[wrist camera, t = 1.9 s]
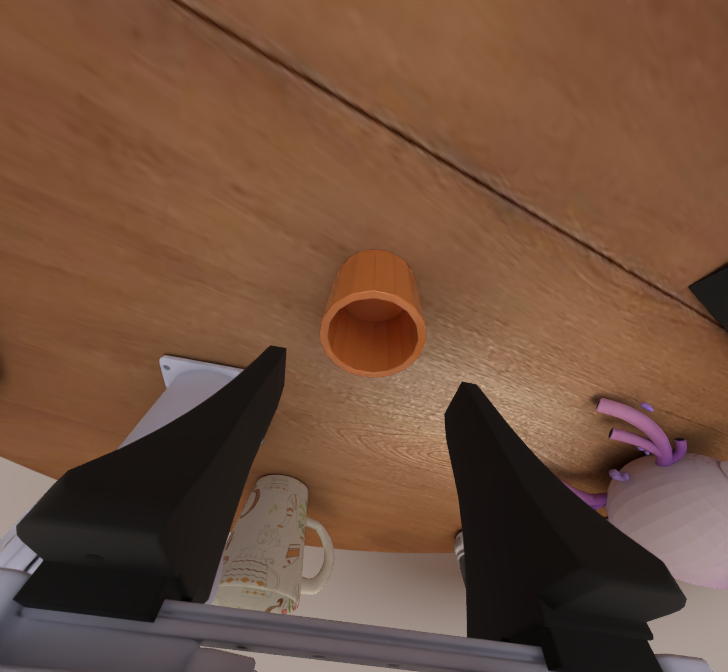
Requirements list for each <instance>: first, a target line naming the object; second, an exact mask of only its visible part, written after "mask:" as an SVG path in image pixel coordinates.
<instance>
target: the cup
mask: <svg viewBox="0 0 728 672" xmlns="http://www.w3.org/2000/svg"><path fill="white" fill-rule="evenodd" d="M320 340H321V343H322V345H323V348H324V351H325V353H326V354H327V356H328V357H329V358H330V359H331V360H332V361H333V362H334V363H335V364H336V365H337V366H338V367H340V368H342V369H344V370H346V371H348V372H350V373H351V374H354V375H359V376H365V377H370V378H371V377H372V378H374V377H384V376H390V375H393V374H395V373H398V372H400V371H402V370H405V369H407V368H408V367H409V366H410V365H411V364H412V363H413V362H414V361H415V360H416V359H417V358H418V357H419V356H420V354H421V352H422V349H423V347H424V344H425V342H426V332H425V322H424V318H423V313H422V308H421V303H420V298H419V293H418V288H417V284H416V279H415V277H414V274H413V272H412V270H411V268H410V267H409V265H408V264H407V263H406V262H405V261H404V260H403V259H402V258H400V257H399V256H397V255H395V254H393V253H391V252H388V251H384V250H366V251H362V252H359V253H357V254H355V255H353V256H351V257H350V258H349V259H347V260H346V261H345V262H344V263H343V265H342V266H341V267H340V269H339V271H338V273H337V275H336V277H335V280H334V283H333V286H332V289H331V292H330V295H329V299H328V302H327V305H326V308H325V311H324V315H323V318H322V322H321V329H320Z"/></svg>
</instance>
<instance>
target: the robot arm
mask: <svg viewBox="0 0 728 672" xmlns="http://www.w3.org/2000/svg"><path fill="white" fill-rule="evenodd" d="M286 349H287V348H282V347H277V346H269V347H268V348H267V349H266V350H265V351H264V352H263V353H262V354H261V355H260V356H259V357H258V358H257V359H256V360H254V361H253V362H252V363H251V364H250V365H249V366H248V367H247V368H246V369H239V368H234V367H228V366H223V365H217V364H212V363H206V362H201V361H195V360H190V359H184V358H179V357H173V356H168V355H164V356H162V357H161V358H160V359H159V363H160V366H161V370H162V374H163V378H164V382H165V386H166V390H165V391H164V393H163V394H162V395H161V396H160V397H159V399H158V400H157V401H156V402H155V403H154V405H153V406H152V407H151V408H150V410H149V411H148V412H147V413H146V414H145V416H144V417H143V418H142V419H141V421H140V422H139V423H138V424H137V425H136V427H135V428H134V429H133V430H132V432H131V433H130V434H129V435H128V436H127V438H126V439H125V440H124V441H123V443H122V444H121V445H120V446H119V447H118V449H117V450H115V451H113V452H111V453H109V454H106V455H104V456H102V457H99V458H97V459H94V460H92V461H90V462H87V463H85V464H83V465H80V466H78V467H76V468H73V469H71V470H68V471H67V472H66V473H65V474H64V475H63V476H62V477H61V478H60V479H59V480H58V481H57V482H56V483H55V484H54V485H53V486H52V487H51V488H50V489H49V490H48V491H47V492H46V493H45V494H44V496H43V497H42V498H41V499H39V500H38V501H37V502H36V503H35V504H34V505H33V506H32V507H31V508H30V509H29V510H28V511H27V512H26V513H25V514H24V515H23V516H22V517H21V518H20V520H19V521H18V522H17V523H16V524H15V525H14V526H13V527H12V528H11V529H10V530H9V531H8V532H7V533H6V534H5V535H4V536H3V537H2V539H0V672H257V671H256V670H254V667H255V660H254V658H251V657H247V656H243V655H239V654H234V653H230V652H226V651H222V650H217V649H212V648H200V646H206V647H216V648H223V649H232V650H240V651H249V652H258V653H267V654H274V655H283V656H292V657H300V658H309V659H317V660H325V661H334V662H342V663H351V664H360V665H368V666H377V667H385V668H393V669H402V670H410V671H419V672H712V670H711V668H710V667H709V665H708V663H707V662H706V661H705V660H703V659H702V658H697V657H688V656H680V655H673V654H654V653H653V651H652V649H651V647H650V645H649V643H648V641H647V640H653V634H652V632H651V630H650V628H649V627H648V625H647V623H646V622H648V621H651V620H654V619H657V618H660V617H663V616H666V615H669V614H672V613H674V612H677V611H679V610H681V609H682V608H683V607H684V606H685V603H686V600H687V599H686V597H685V595H684V594H683V592H682V591H681V589H680V588H679V586H678V584H677V583H676V581H675V579H674V578H673V576H672V575H671V573H670V571H669V570H668V568H667V567H666V565H665V564H664V562H663V561H662V560H661V559H659V558H658V557H656V556H655V555H654V554H652V553H651V552H649V551H648V550H647V549H645V548H644V547H642V546H641V545H640V544H638V543H637V542H635V541H634V540H633V539H631V538H630V537H629V536H627V535H626V534H624V533H623V532H622V531H620V530H619V529H618V528H617V527H615V526H614V525H613V524H611V523H610V522H609V521H608V520H606V519H605V518H604V517H603V516H601V515H600V514H599V513H598V512H596V511H595V510H594V509H593V508H591V507H590V506H589V505H588V504H587V503H585V502H584V501H583V500H582V499H581V498H580V497H579V496H577V495H576V494H575V493H574V492H573V491H572V490H571V489H569V488H568V487H567V486H566V485H565V484H564V483H563V482H562V481H561V480H560V479H559V478H557V477H556V476H555V475H554V474H553V473H552V472H551V471H550V470H549V469H548V468H547V467H546V466H545V465H544V464H543V463H542V462H541V461H540V460H539V459H538V458H537V457H536V455H535V454H534V453H533V452H532V451H531V450H530V449H529V448H528V447H527V446H526V444H525V443H524V442H523V441H522V440H521V439H520V438H519V437H518V435H517V434H516V433H515V432H514V431H513V429H512V428H511V427H510V426H509V425H508V423H507V422H506V421H505V420H504V418H503V417H502V416H501V415H500V413H499V412H498V411H497V410H496V408H495V407H494V406H493V404H492V403H491V402H490V401H489V399H488V398H487V397H486V396H485V394H484V393H483V392H482V391H481V389H480V388H479V387H478V386H477V385H476V384H472V383H467V382H462V383H461V384H460V386H459V388H458V390H457V392H456V394H455V395H454V397H453V399H452V401H451V403H450V405H449V406H448V408H447V410H446V412H445V414H444V416H445V431H446V440H447V445H448V450H449V455H450V460H451V464H452V469H453V474H454V478H455V483H456V488H457V493H458V499H459V506H460V515H461V524H462V535H463V547H464V561H465V578H466V605H467V637H459V636H451V635H443V634H435V633H427V632H419V631H412V630H404V629H396V628H388V627H380V626H373V625H365V624H357V623H349V622H341V621H333V620H325V619H318V618H310V617H302V616H294V615H286V614H278V613H270V612H262V611H255V610H247V609H239V608H231V607H223V606H215V605H212V602H213V600H214V598H215V595H216V592H217V589H218V586H219V583H220V579H221V575H222V570H223V554H224V547H225V544H226V541H227V537H228V535H229V531H230V528H231V525H232V522H233V519H234V516H235V513H236V510H237V507H238V504H239V500H240V497H241V494H242V491H243V489H244V486H245V483H246V480H247V477H248V474H249V471H250V468H251V466H252V463H253V461H254V458H255V456H256V454H257V452H258V449H259V447H260V445H262V443H263V438H264V436H265V434H266V432H267V429H268V427H269V425H270V423H271V420H272V418H273V416H274V414H275V411H276V409H277V407H278V403H279V400H280V397H281V394H282V391H283V387H284V381H285V365H286Z"/></svg>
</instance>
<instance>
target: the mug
mask: <svg viewBox="0 0 728 672" xmlns="http://www.w3.org/2000/svg"><path fill="white" fill-rule="evenodd" d="M307 503H308V489H307V487H306V486H305V485H304V484H303V483H302V482H300V481H299V480H297V479H294V478H292V477H289V476H284V475H268V476H264V477H262V478H260V479H259V480H258V481H257V483H256V484H255V486H254V488H253V490H252V492H251V494H250V496H249V498H248V500H247V502H246V504H245V506H244V508H243V510H242V512H241V514H240V516H239V518H238V520H237V522H236V524H235V526H234V528H233V530H232V532H231V535H230V536H229V539H228V541H227V543H226V545H225V547H224V554H223V570H222V575H221V579H220V583H219V586H218V589H217V592H216V595H215V598H214V600H213V602H212V603H214V604H216V605H218V606H223V607H231V608H239V609H247V610H255V611H262V612H270V613H278V614H286V613H289V612H293V611H294V610H296V609H297V608H298V605H299V601H300V593H303V594H308V595H312V594H316V593H318V592H319V591H320V590H321V589H322V588H323V587H324V586H325V584H326V583H327V581H328V579H329V578H330V576H331V573H332V569H333V565H334V548H333V544H332V541H331V538H330V536H329V534H328V533H327V531H326V530H325V528H324V527H323V525H322V524H321V523H320V522H318V521H316V520H314V519H312V518H309V517H306V516H307ZM306 526H307V527H310V528H313V529H315V530H316V531H317V533H318V534H319V536H320V538H321V541H322V544H323V548H324V563H323V566H322V568H321V570H320V572H319V573H318V574H317V575H316V576H315V577H314V578H311V579H308V578H304V577H302V567H303V555H304V542H305V529H306Z"/></svg>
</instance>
